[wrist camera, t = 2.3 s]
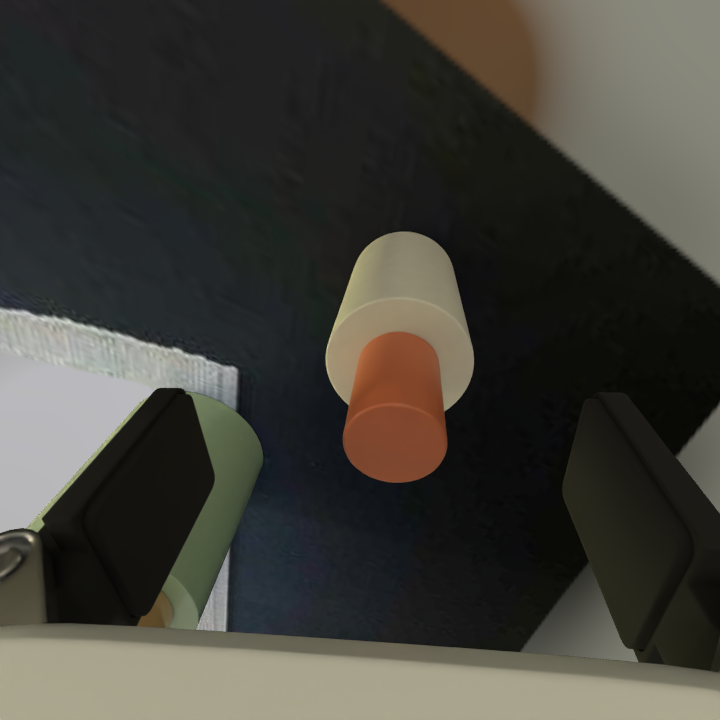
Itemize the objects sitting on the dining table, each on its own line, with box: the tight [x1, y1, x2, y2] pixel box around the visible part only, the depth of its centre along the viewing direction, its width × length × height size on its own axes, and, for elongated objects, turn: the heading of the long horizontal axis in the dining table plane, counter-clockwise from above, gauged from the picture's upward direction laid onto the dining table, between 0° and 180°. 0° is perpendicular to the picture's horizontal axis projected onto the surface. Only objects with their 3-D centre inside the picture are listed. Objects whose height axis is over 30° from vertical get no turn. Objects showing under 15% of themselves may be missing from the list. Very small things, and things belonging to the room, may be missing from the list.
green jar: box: [26, 392, 263, 630], centre depth 21 cm, size 8×8×10 cm
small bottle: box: [326, 232, 474, 483], centre depth 14 cm, size 4×4×10 cm
